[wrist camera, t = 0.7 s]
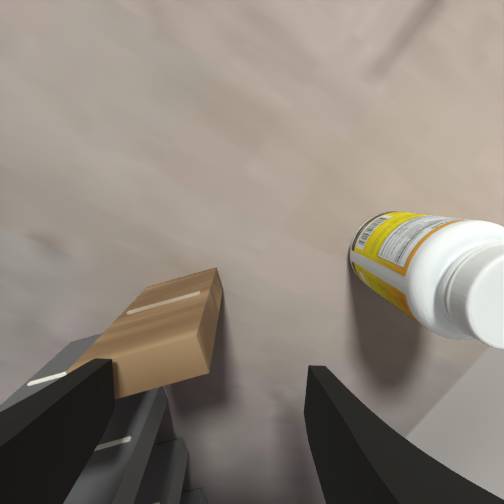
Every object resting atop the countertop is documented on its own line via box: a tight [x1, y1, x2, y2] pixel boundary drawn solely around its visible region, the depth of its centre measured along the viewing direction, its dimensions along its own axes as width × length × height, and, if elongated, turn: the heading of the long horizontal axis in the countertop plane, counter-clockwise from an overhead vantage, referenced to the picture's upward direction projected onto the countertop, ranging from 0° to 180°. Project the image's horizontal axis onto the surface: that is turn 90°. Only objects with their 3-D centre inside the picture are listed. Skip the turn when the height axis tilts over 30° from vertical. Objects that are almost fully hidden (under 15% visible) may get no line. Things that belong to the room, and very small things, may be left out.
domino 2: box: [63, 386, 168, 504], centre depth 18 cm, size 2×5×10 cm, turn 106°
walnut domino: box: [66, 268, 223, 399], centre depth 16 cm, size 2×5×10 cm, turn 105°
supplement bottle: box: [350, 212, 504, 349], centre depth 16 cm, size 6×6×10 cm
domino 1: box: [0, 333, 103, 412], centre depth 17 cm, size 2×5×10 cm, turn 106°
